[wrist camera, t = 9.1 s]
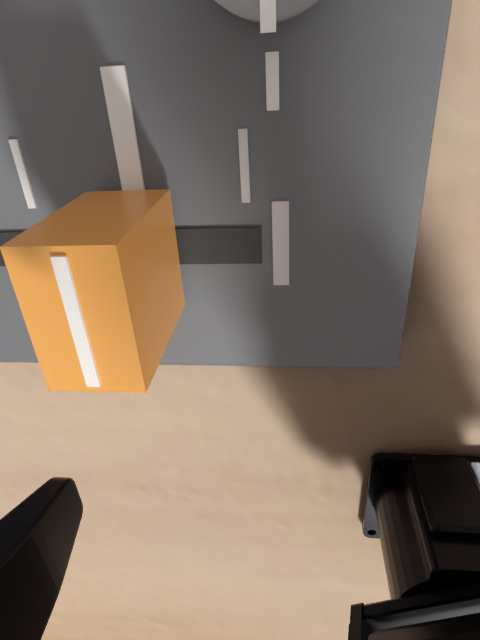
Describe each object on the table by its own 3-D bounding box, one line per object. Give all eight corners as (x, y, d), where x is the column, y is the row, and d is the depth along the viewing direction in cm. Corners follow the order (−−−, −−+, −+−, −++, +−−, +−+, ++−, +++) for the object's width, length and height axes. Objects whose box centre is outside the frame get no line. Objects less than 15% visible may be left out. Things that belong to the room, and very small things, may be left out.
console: (389, 342, 20) (409, 402, 17) (-125, 337, 23) (-200, 386, 20) (466, -252, 11) (543, -391, 8) (-379, -134, 15) (-597, -197, 11)
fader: (185, 305, 18) (144, 394, 13) (111, 305, 18) (46, 392, 13) (169, 189, 15) (114, 246, 11) (86, 191, 16) (-3, 248, 11)
